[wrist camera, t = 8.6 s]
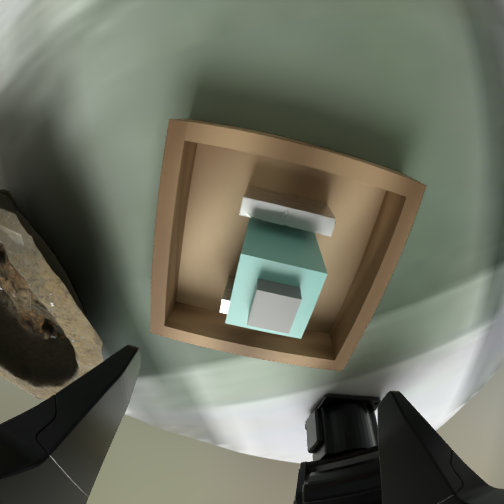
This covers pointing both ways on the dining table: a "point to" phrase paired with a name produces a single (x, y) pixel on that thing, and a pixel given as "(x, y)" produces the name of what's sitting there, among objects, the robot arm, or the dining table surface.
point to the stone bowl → (39, 313)
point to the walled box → (235, 226)
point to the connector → (276, 279)
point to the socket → (282, 218)
